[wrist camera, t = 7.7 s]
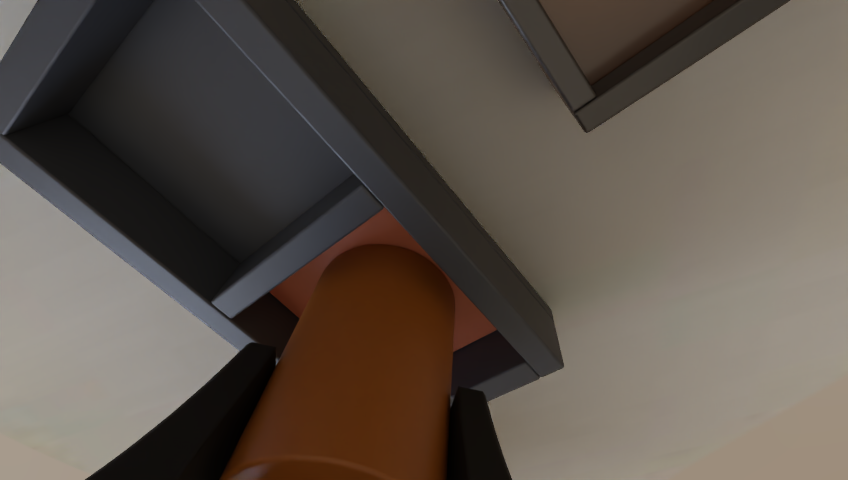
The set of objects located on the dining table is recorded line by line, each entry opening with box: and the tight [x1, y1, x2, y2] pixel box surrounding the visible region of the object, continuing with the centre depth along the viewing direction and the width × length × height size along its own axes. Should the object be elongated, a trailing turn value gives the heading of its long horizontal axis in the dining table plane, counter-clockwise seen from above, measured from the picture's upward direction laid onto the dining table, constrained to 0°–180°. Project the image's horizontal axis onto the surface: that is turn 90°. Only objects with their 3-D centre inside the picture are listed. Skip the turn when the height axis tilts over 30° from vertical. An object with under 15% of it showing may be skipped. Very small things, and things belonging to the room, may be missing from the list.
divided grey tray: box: [0, 0, 564, 408], centre depth 12 cm, size 8×14×2 cm, turn 39°
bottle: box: [219, 244, 455, 480], centre depth 10 cm, size 4×4×9 cm
